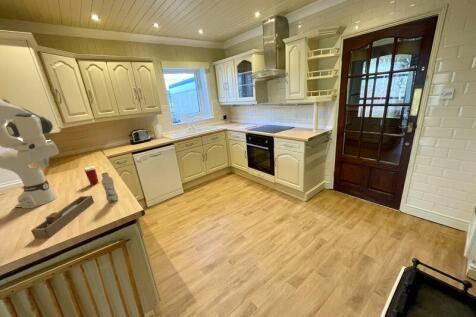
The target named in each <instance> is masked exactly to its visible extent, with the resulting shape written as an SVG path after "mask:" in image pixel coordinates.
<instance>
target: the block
mask: <svg viewBox="0 0 476 317" xmlns="http://www.w3.org/2000/svg"><path fill="white" fill-rule="evenodd" d="M60 217H62V214H61V212H59V211H58V212H52V213H50V214H48V215H47V216H45V220H47V222H48V224H49V225H51V224H52V223H53V222H55V221H56V220H58V219H59V218H60Z"/></svg>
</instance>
